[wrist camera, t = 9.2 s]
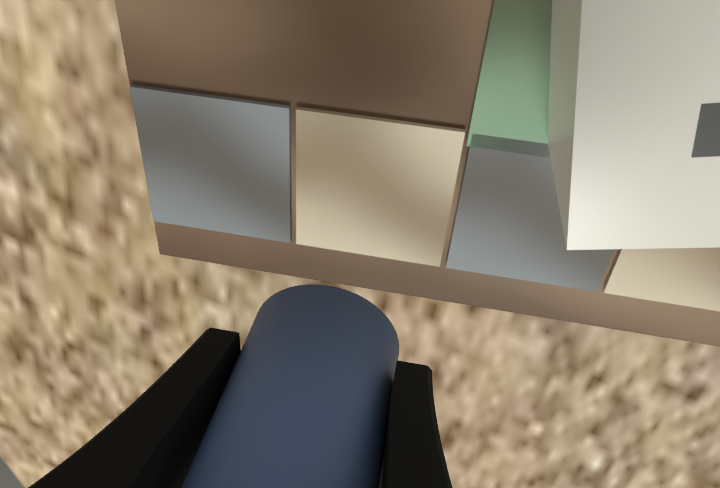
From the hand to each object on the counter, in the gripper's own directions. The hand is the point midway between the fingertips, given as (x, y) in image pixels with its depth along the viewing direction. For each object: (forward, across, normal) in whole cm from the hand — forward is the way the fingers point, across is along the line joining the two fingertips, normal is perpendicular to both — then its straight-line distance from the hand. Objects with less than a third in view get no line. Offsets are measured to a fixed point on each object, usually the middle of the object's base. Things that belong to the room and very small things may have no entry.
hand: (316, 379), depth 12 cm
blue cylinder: (+1, 0, 0) cm, 1 cm away
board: (+8, -2, -2) cm, 9 cm away
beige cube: (+7, -6, -6) cm, 11 cm away
